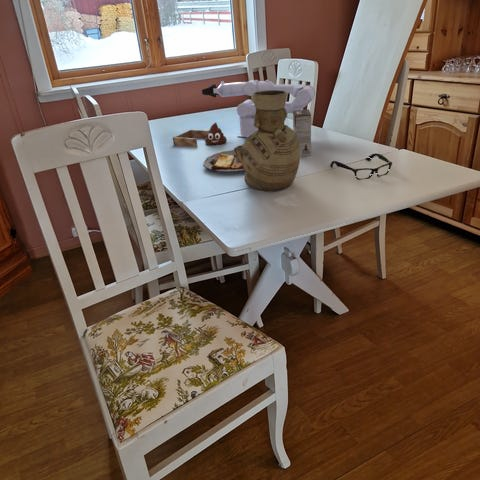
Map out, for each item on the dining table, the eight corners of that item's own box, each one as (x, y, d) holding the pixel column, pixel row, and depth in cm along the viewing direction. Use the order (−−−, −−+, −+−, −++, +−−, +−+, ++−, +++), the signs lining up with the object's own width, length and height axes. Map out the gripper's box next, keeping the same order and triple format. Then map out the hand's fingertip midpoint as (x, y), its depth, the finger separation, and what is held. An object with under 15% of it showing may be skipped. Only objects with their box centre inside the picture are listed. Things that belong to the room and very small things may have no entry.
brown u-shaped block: (213, 138, 200) (212, 130, 199) (196, 146, 189) (195, 139, 188) (191, 136, 206) (190, 129, 204) (173, 145, 195) (172, 137, 193)
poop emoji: (227, 140, 195) (225, 119, 191) (225, 145, 188) (223, 124, 183) (206, 141, 196) (204, 121, 192) (203, 146, 189) (201, 125, 185)
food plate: (259, 176, 149) (258, 166, 148) (197, 176, 154) (196, 167, 153) (269, 154, 171) (268, 146, 169) (214, 155, 176) (213, 147, 174)
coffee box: (293, 150, 172) (292, 110, 165) (308, 149, 172) (308, 109, 164) (295, 156, 164) (294, 115, 157) (311, 155, 164) (311, 114, 156)
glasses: (351, 185, 137) (352, 171, 134) (327, 167, 152) (327, 154, 149) (396, 177, 140) (398, 163, 137) (368, 160, 155) (369, 147, 152)
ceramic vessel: (234, 179, 148) (226, 90, 134) (293, 172, 149) (291, 83, 135) (240, 199, 131) (231, 101, 117) (306, 192, 132) (305, 93, 118)
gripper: (237, 80, 196) (211, 82, 201) (225, 80, 184) (198, 82, 189) (239, 95, 199) (213, 98, 204) (227, 97, 186) (199, 99, 191)
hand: (206, 91), depth 196 cm, fingers open, 7 cm apart
